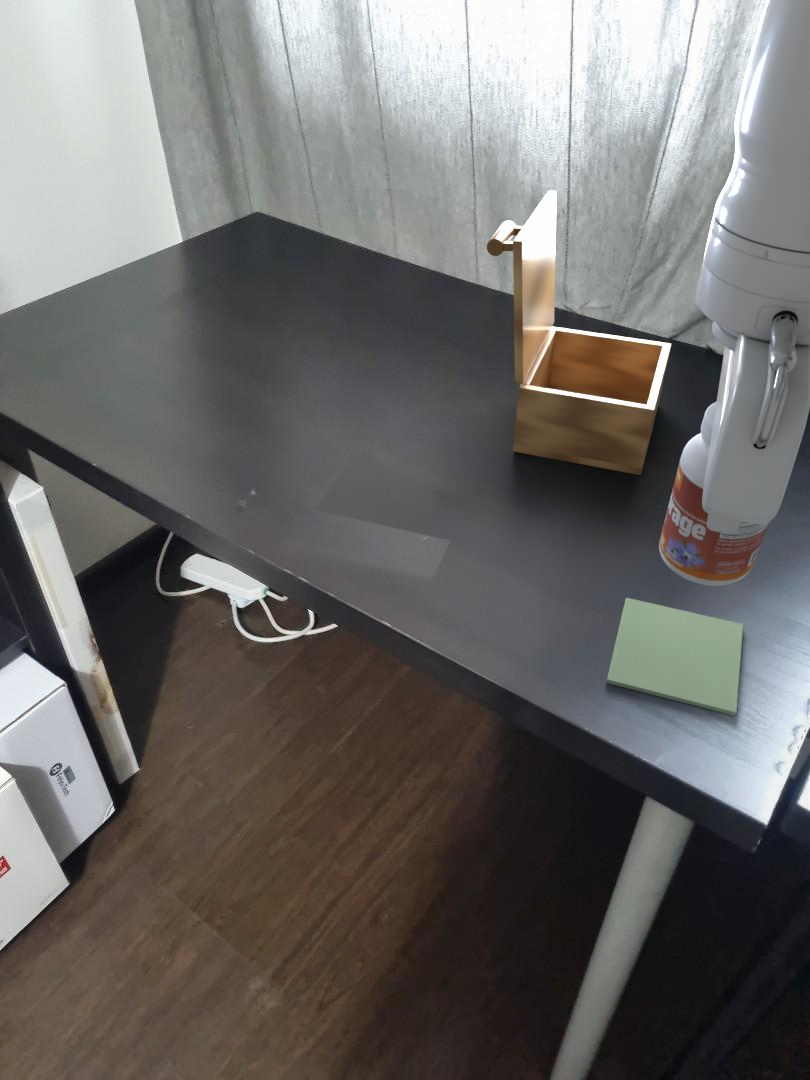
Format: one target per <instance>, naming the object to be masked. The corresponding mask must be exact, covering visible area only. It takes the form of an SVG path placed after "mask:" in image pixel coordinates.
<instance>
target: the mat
mask: <svg viewBox="0 0 810 1080" xmlns="http://www.w3.org/2000/svg"><path fill="white" fill-rule="evenodd" d="M743 633H744V623H739V622H735V621H730V620H726V619H722V618H718V617H713V616H712V617H711V616H709V615H705V614H699V613H696V612H691V611H686V610H683V609H682V610H681V609H678V608H674V607H669V606H664V605H660V604H656V603H651V602H647V601H643V600H638V599H635V598H630V597H625V600H624V604H623V608H622V613H621V617H620V621H619V625H618V629H617V634H616V639H615V642H614V647H613V651H612V656H611V659H610V660H611V661H610V665H609V669H608V673H607V679H606V684H609V685H613V686H617V687H620V688H621V687H622V688H625V689H629V690H633V691H637V692H640V693H645V694H649V695H651V696H655V697H656V696H657V697H660V698H662V699H663V698H664V699H668V700H671V701H676V702H680V703H684V704H687V705H691V706H695V707H699V708H702V709H707V710H710V711H714V712H719V713H722V714H726V715H731V716H733V717H735V716H737V713H738V712H737V711H738V701H739V700H738V699H739V685H740V671H741V659H742V648H743V647H742V646H743Z"/></svg>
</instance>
